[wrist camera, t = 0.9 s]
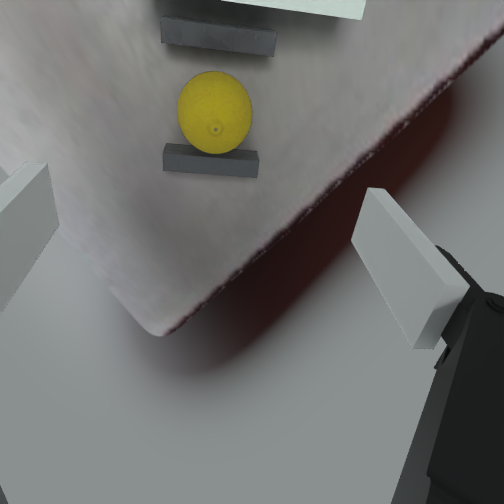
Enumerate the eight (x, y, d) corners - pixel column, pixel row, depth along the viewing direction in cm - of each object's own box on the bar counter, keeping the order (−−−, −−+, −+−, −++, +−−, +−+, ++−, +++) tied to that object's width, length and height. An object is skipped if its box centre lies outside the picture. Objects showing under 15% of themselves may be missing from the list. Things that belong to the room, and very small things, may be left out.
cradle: (272, 29, 28) (276, 33, 26) (254, 166, 35) (257, 177, 33) (164, 15, 27) (160, 17, 25) (166, 159, 34) (163, 170, 31)
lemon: (206, 145, 33) (205, 183, 27) (166, 88, 30) (154, 116, 24) (260, 110, 32) (272, 141, 25) (224, 47, 29) (227, 64, 22)
